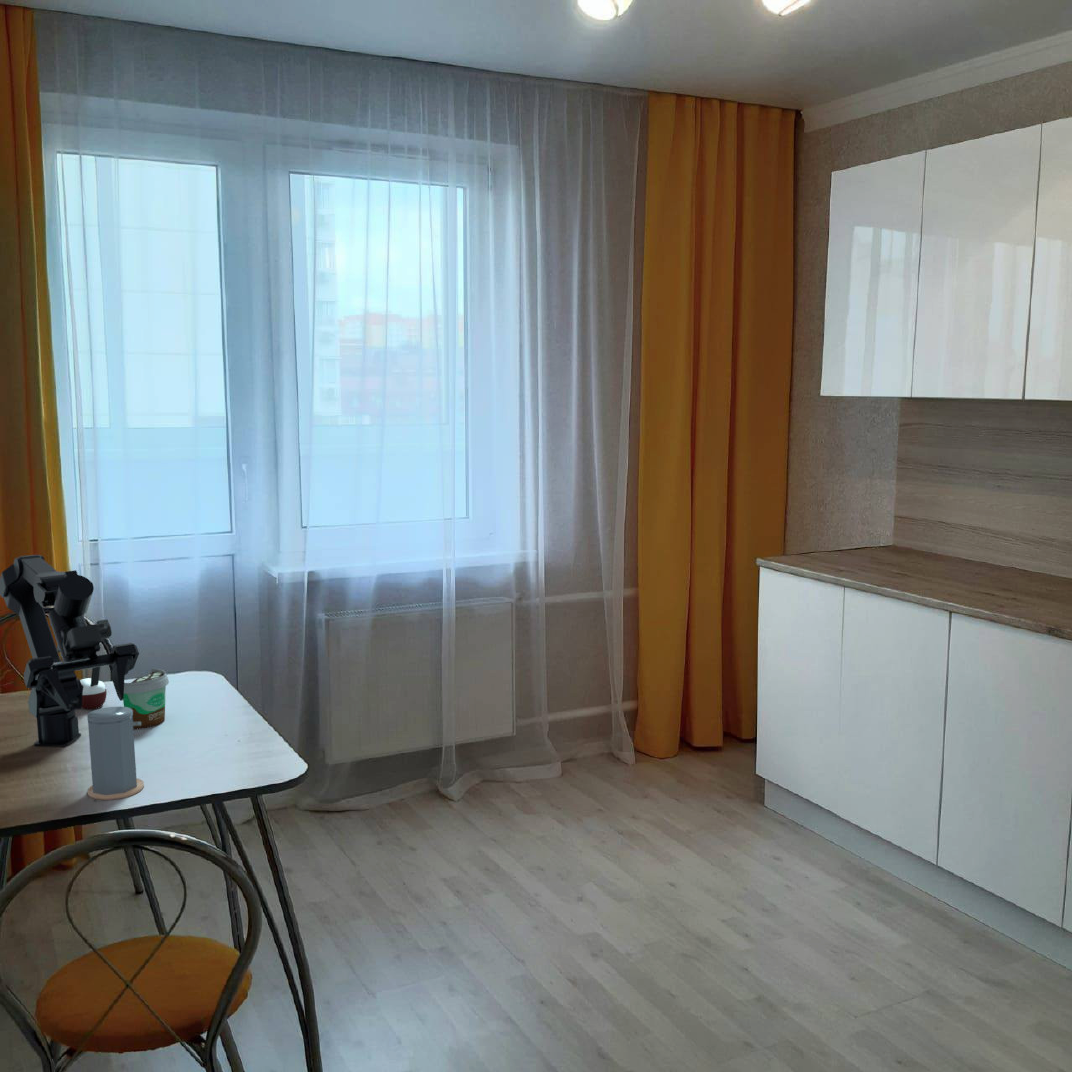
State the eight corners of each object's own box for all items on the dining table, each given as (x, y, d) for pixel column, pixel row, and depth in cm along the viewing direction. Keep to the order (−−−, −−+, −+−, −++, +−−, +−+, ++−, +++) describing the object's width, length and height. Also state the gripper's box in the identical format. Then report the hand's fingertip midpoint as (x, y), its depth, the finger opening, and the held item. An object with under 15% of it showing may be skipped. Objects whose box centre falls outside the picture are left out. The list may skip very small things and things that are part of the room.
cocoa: (76, 705, 234) (70, 652, 232) (107, 700, 236) (101, 647, 235) (77, 715, 225) (70, 660, 224) (109, 710, 228) (102, 655, 226)
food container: (150, 733, 213) (147, 685, 212) (122, 731, 215) (119, 683, 213) (182, 714, 225) (179, 668, 224) (156, 713, 227) (153, 667, 225)
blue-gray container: (83, 791, 182) (77, 716, 180) (114, 776, 188) (110, 704, 187) (115, 797, 179) (110, 721, 177) (146, 782, 186) (141, 709, 184)
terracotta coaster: (78, 799, 180) (77, 796, 180) (103, 779, 189) (102, 776, 188) (129, 800, 179) (129, 797, 179) (152, 780, 188) (152, 777, 188)
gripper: (23, 614, 183) (46, 690, 177) (132, 599, 195) (158, 670, 189) (14, 650, 191) (36, 724, 184) (119, 633, 202) (144, 703, 196)
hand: (95, 704), depth 188 cm, fingers open, 9 cm apart
